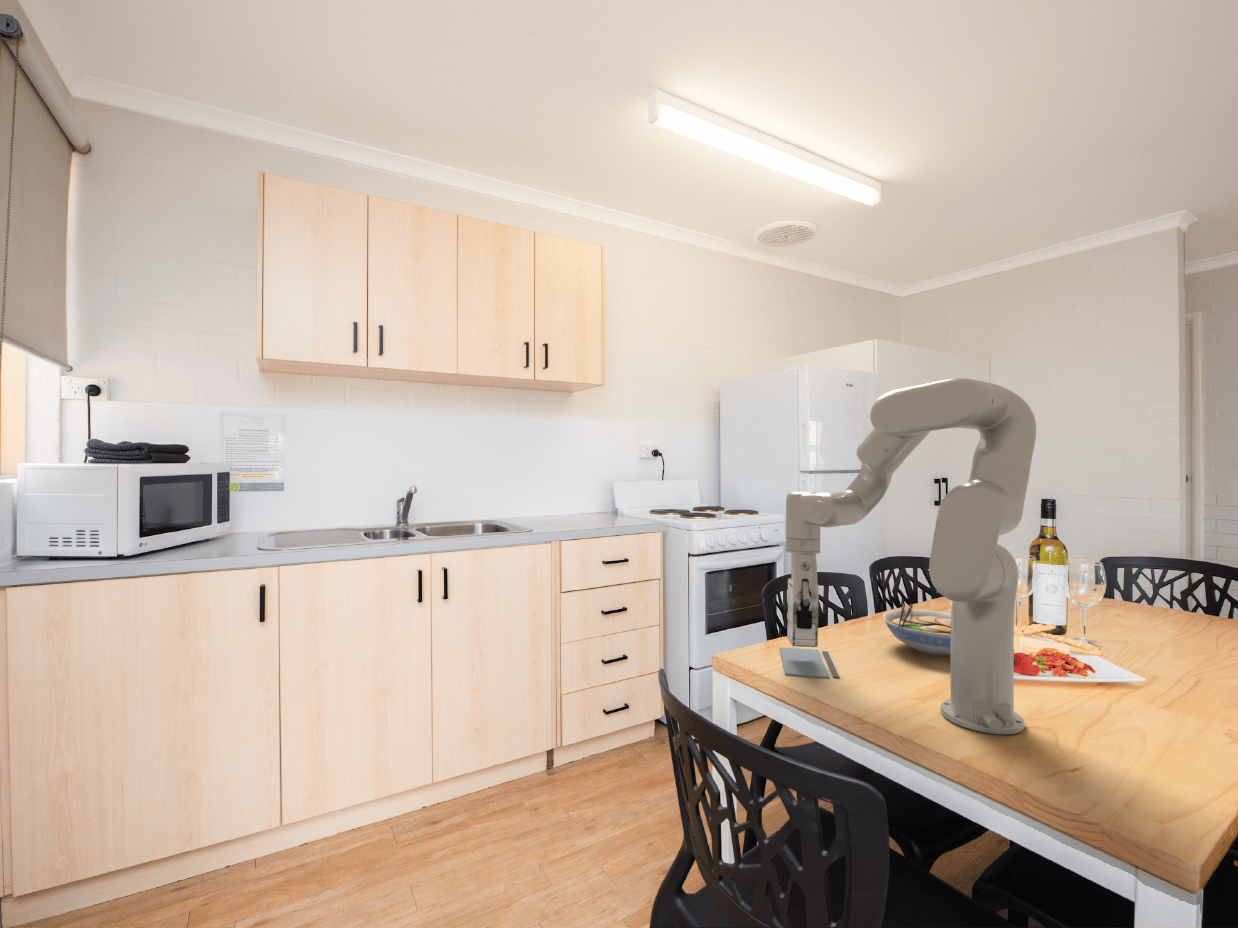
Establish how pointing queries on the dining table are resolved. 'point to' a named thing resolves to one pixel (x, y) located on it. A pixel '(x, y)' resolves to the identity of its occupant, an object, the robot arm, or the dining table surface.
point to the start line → (830, 664)
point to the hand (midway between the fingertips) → (802, 623)
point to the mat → (803, 662)
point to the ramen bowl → (921, 629)
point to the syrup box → (796, 634)
